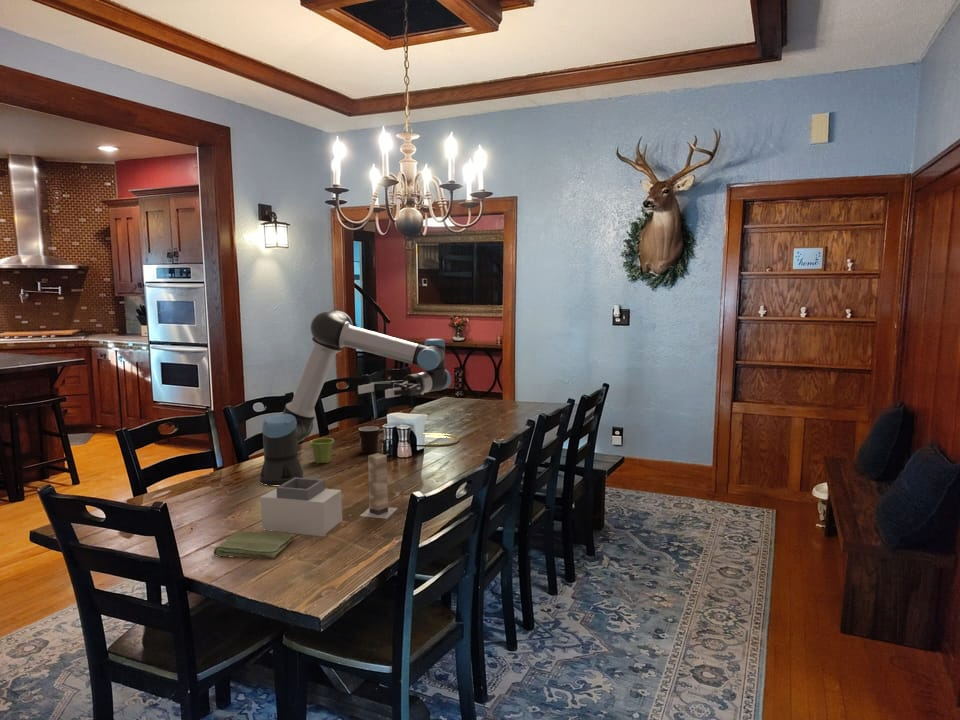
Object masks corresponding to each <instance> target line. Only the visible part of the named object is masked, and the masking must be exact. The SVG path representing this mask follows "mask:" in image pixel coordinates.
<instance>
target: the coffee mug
mask: <svg viewBox="0 0 960 720" xmlns="http://www.w3.org/2000/svg"><path fill="white" fill-rule="evenodd" d="M379 432H380V427H378V426H373V425H372V426H370V425H369V426H362V427H359V428H358V433H359V443H360V447H361V453H362V452H364V453H363V454H365V453H371V454H375V453H374V452H376V453H377V452H378V447H379V446H378V444H379V434H380V433H379Z"/></svg>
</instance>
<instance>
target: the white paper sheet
mask: <svg viewBox="0 0 960 720" xmlns="http://www.w3.org/2000/svg"><path fill="white" fill-rule="evenodd" d="M398 509H399V508H398V507H389V506H388V512H386V513H383V514H381V515H376V514H373V513H370V507H368V508H367V509H366V510H365V511H364V512H363V513H361V514H360V515H359V517H367V518H377V519H387V520H388V519H389V518H390V516H392V515H393V514H394V513H395V512H396V511H397V510H398Z"/></svg>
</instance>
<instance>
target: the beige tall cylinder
mask: <svg viewBox="0 0 960 720" xmlns="http://www.w3.org/2000/svg"><path fill="white" fill-rule="evenodd" d="M387 458H388V455H387V454H382V453H377V452H376V453H372V454H369V455H368V456H367V460H368V462H367V465H368V500H369V502H368V503H369V507H368V508H370V513H373V514H376V515H381V514H383V513H386V512H388V507H389V501H388V499H389V498H388V494H389V491H388V489H389V488H388V461H387V460H388V459H387Z"/></svg>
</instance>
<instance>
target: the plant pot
mask: <svg viewBox="0 0 960 720" xmlns="http://www.w3.org/2000/svg"><path fill="white" fill-rule="evenodd" d="M334 442H335V440H334V438H329V437H321V438H315V439H312V440H310V441H309V443H310V445H311V447H312V452H313V457H314V463H316V464H319V463H322V464H328V463H330V462H331V461H332V452H333V445H334Z"/></svg>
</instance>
